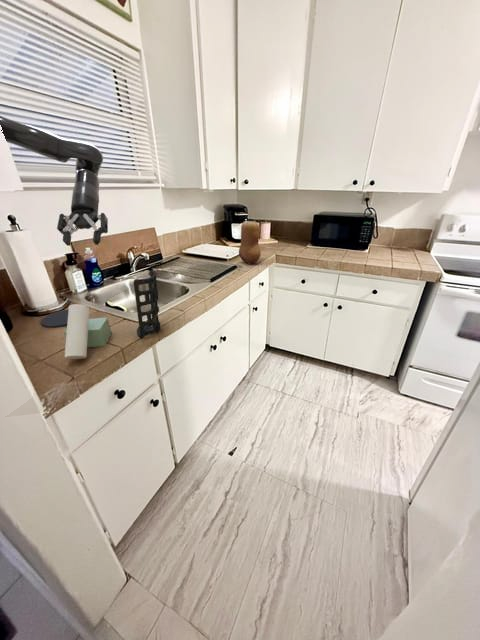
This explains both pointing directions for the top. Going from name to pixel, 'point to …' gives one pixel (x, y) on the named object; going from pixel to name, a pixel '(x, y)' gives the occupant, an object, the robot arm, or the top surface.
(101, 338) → the leaning block
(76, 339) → the gray elongated block
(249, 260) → the butternut squash
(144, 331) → the holder
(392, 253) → the top surface
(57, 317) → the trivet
